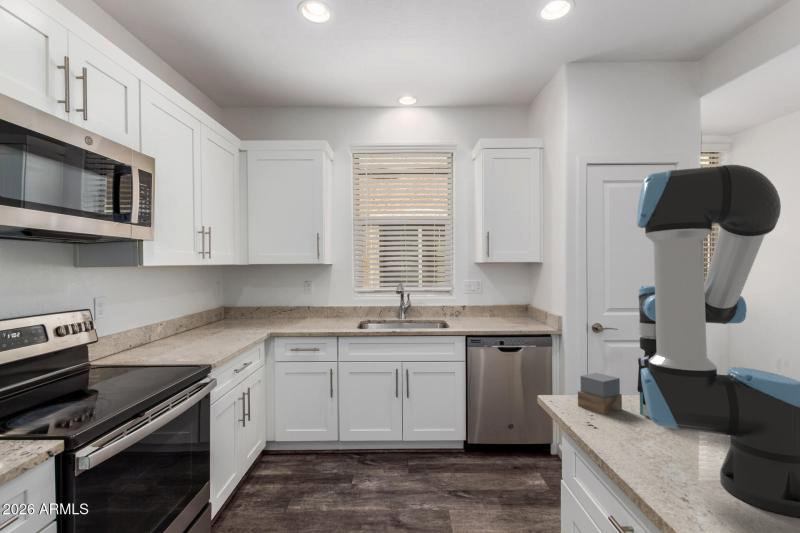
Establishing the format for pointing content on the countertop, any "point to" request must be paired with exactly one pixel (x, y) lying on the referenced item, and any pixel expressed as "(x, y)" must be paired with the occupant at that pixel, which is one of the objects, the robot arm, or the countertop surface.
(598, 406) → the walnut base
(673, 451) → the countertop surface
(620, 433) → the countertop surface
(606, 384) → the charcoal block
